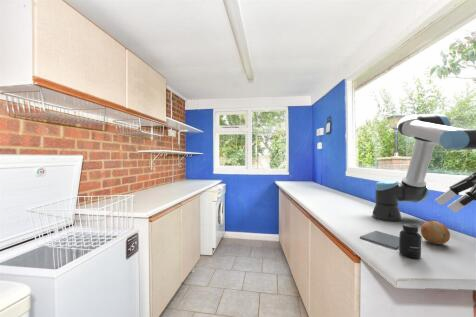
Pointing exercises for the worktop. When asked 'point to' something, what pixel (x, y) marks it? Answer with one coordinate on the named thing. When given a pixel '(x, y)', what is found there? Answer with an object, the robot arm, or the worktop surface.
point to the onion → (435, 232)
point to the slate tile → (382, 239)
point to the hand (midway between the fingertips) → (443, 206)
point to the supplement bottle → (410, 242)
